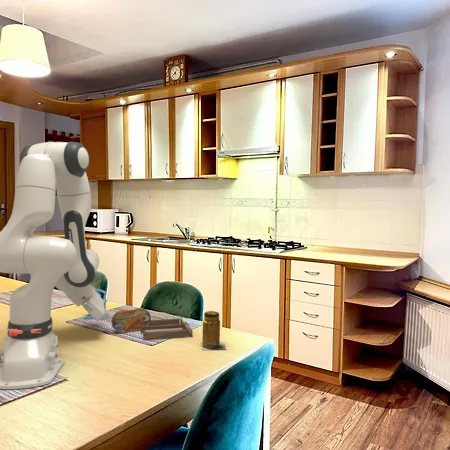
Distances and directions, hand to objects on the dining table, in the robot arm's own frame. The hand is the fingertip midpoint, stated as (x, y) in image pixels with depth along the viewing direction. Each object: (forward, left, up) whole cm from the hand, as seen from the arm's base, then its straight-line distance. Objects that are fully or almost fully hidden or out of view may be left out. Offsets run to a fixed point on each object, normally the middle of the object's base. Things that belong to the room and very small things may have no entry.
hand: (110, 319), depth 159 cm
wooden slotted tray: (-4, -19, -5) cm, 20 cm away
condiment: (-23, -34, -5) cm, 42 cm away
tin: (0, -8, -5) cm, 9 cm away
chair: (+21, +5, -5) cm, 22 cm away
